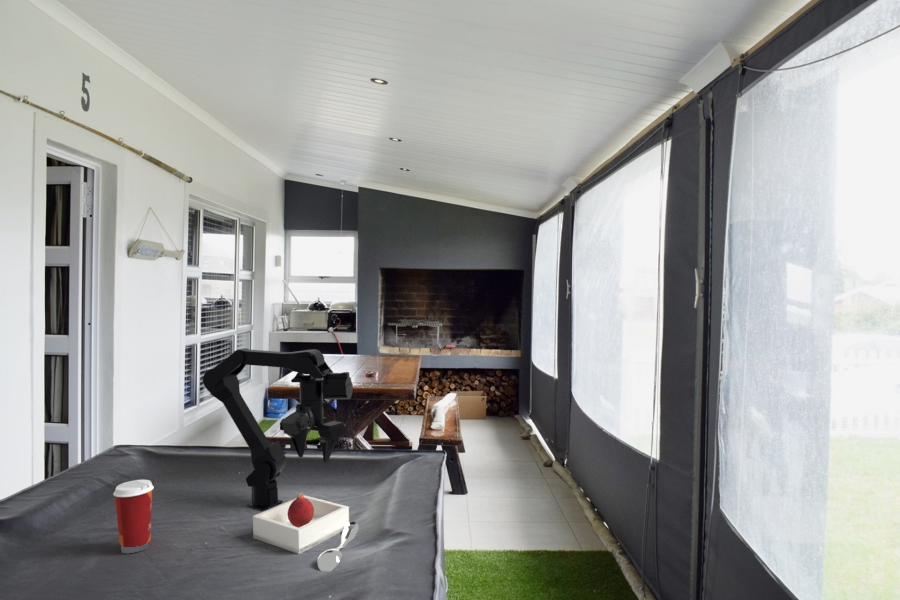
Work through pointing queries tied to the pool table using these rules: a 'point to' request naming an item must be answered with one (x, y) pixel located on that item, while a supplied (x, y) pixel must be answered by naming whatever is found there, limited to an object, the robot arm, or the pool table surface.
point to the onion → (300, 511)
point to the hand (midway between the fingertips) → (313, 459)
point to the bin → (284, 535)
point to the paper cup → (134, 512)
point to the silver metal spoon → (336, 550)
